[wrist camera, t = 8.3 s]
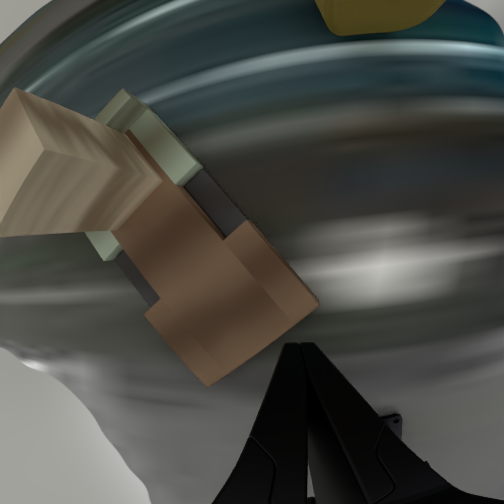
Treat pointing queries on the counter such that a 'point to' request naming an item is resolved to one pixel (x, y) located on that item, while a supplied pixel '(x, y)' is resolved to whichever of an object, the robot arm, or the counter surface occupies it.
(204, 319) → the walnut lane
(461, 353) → the counter surface
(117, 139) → the beech block
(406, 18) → the flower pot
